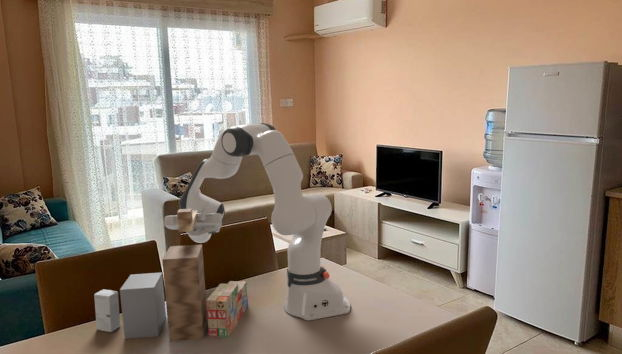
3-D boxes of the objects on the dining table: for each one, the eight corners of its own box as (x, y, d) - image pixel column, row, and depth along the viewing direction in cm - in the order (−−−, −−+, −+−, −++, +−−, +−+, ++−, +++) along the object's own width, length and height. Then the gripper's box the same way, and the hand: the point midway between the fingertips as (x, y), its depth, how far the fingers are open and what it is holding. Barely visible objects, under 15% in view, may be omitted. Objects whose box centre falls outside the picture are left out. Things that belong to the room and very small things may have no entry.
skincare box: (96, 330, 142) (92, 294, 140) (106, 323, 146) (102, 288, 144) (112, 332, 140) (108, 296, 138) (121, 325, 144) (118, 290, 142)
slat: (198, 216, 160) (197, 199, 158) (191, 231, 142) (190, 211, 141) (187, 217, 159) (185, 199, 158) (178, 232, 141) (177, 212, 140)
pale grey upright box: (166, 317, 149) (162, 272, 147) (158, 336, 138) (154, 287, 135) (135, 320, 148) (130, 274, 145) (124, 338, 136) (119, 289, 134)
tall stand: (207, 319, 147) (202, 244, 143) (203, 338, 135) (197, 257, 131) (176, 322, 146) (170, 246, 141) (169, 341, 134) (162, 259, 130)
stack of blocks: (231, 305, 157) (229, 272, 155) (248, 306, 156) (246, 273, 154) (208, 337, 137) (205, 299, 134) (227, 338, 136) (225, 300, 133)
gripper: (168, 218, 168) (160, 208, 155) (223, 215, 170) (220, 205, 157) (167, 235, 165) (159, 226, 153) (223, 231, 168) (220, 222, 155)
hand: (190, 215), depth 155 cm, fingers closed on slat, 4 cm apart
